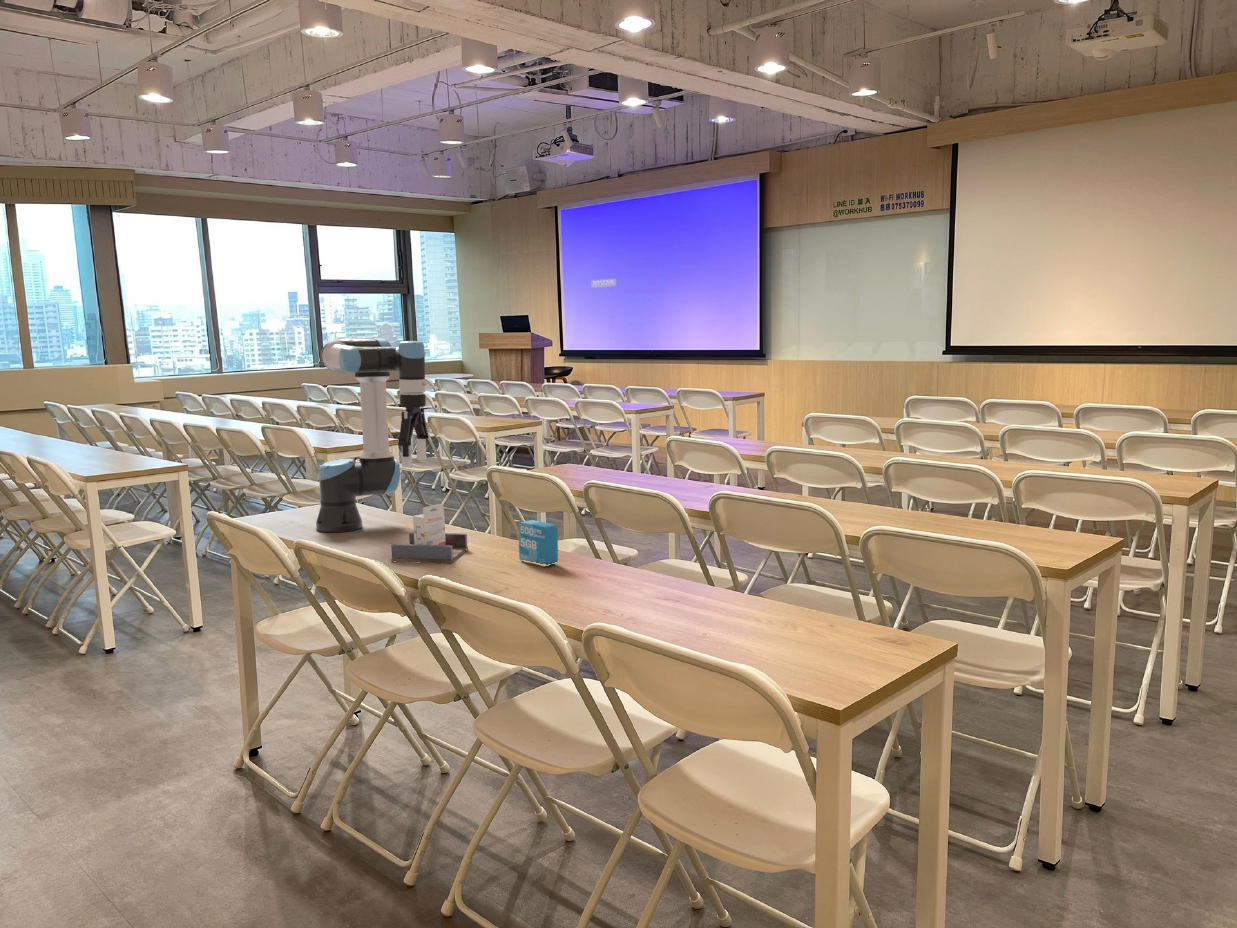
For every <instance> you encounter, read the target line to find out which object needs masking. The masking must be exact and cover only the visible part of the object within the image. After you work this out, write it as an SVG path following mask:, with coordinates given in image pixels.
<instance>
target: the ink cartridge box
mask: <svg viewBox="0 0 1237 928" xmlns="http://www.w3.org/2000/svg"><path fill="white" fill-rule="evenodd" d="M433 509H435V510H433ZM444 509H445V508H444V503H439V504H438V503H436V504H434V505H429V506H423V507H422V514H421V513H420V514H416V515H412V522H413V523H412V524H413V526H412V527H413V532H414V544H415V545H446V542H445V533H446V522H445V521H446V519H445V515H446V514H445V511H444ZM431 510H433V511H431Z"/></svg>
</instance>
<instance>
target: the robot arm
mask: <svg viewBox="0 0 1237 928" xmlns="http://www.w3.org/2000/svg"><path fill="white" fill-rule="evenodd" d="M425 358H426V352H425V344H424V342H423V341H420V340H407V341H406V340H404V341H403V340H402V341H399V343H398V345H395V346H392V345H391V343H390V341H389V340H387V339H385V338H383V337H381V338H378V337H361V338H360V337H357V338H356V337H355V338H354V337H352V338H351V337H350V338H348V337H342V338H337V339H334V340H331V341H329V342H327V343H326V344H325V345H324V346H323V347H322V349H321V351H320V359H321V362H322V364H323V366H324V367H326V368H327V369H328V370H331V371H334V372H337V373H351V374H354V378H355V380H357V381H358V382H359V387H360V389H359V391H360V409H361V425H362V426H361V427H362V443H363V444H362V446H363V447H362V448H363V452H362V453H361V454H360V455H359V462H356V461H355V460H354V458H340V459H334V460H331V461H330V460H329V461H326V462H324V463H322V464H321V465H319V468H318V470H319V471H318V481H319V497H320V498H319V500H320V501H319V503H320V507H319V508H320V509H319V512H318V515H317V518H316V522H315V523H316V524H315V529H316V531H319V532H323V533H345V532H351V531H356V530H359V529H361V528H362V527H363V520H362V517H361V515H360V512H359V510H358V509H359V508H358V507H357V498H356V497H363V496H374V495H387V494H393V493H394V492H395V491H396V490H397V489H398V487H399V486H400V480H401V467H402V468H406V469H407V468H408V469H411V468H413V460H412V459H413V456H412V454H413V453H412V444H411V443H412V438H413V432H414V431H415V434H416V435H415V436H416V461H427V450H426V449H427V443H426V439H429V432H428V426H427V422H426V417H425V408H424V407H425V406H426V405H427V403H426V402H427V401H426V397H427V395H426V394H425V392H426V386H427V382H426V361H425V360H426V359H425ZM392 372H398V373H399V374H398V375H399V378H398V379H399V382H398V384H399V385H398V387H399V388H398V389H399V392H400V395H399V406H400V407H402V408H405V411H402V412H401V420H400V429H399V437H398V443H397V444H398V446H401V465H402V466H401V467H400V462H399V460H398V459H397V460H396V459H395V455H394V453H392V452H391V451H390V441H389V426H388V425H389V423H388V406H387V383H386V382H387V381H388V380H389V378H390V377H391V374H390V373H392Z"/></svg>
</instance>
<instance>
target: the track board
mask: <svg viewBox="0 0 1237 928" xmlns="http://www.w3.org/2000/svg"><path fill="white" fill-rule="evenodd" d="M408 536H409V537H408V538H409V539H408V541H409V543H402V544H401V543H392V544H391V545H390V546H391V547H390V548H391V549H390V550H391V558H390V561H396V562H395V563H406V562H420V563H419V564H440V565H441V564H443V565H446V564H447V565H451V564H452V563H453V562H455V561H456V560H457V559H458V558H459V557H461V555H463V554H464V553H465V552H467V550H468V549H469V546H468V534H467V533H456V532H455V533H451V532H445V542H446V545H415V544H414V531H411V532H409V533H408ZM466 549H467V550H466ZM464 551H465V552H464ZM462 553H463V554H462Z"/></svg>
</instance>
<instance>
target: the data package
mask: <svg viewBox="0 0 1237 928" xmlns="http://www.w3.org/2000/svg"><path fill="white" fill-rule="evenodd" d="M558 534H559V533H558V527H557V525H555V524H554V523H549V522H544V521H540V520H534V519H530V520H526V521H521V522H520V523H519V524H518V557H519V560H520V561H521V560H526V561H530V562H536V563H540V564H546V565H548V564H552V563H555V562H557V563H558V560H559V546H558V545H559V540H558V539H559V538H558Z"/></svg>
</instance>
